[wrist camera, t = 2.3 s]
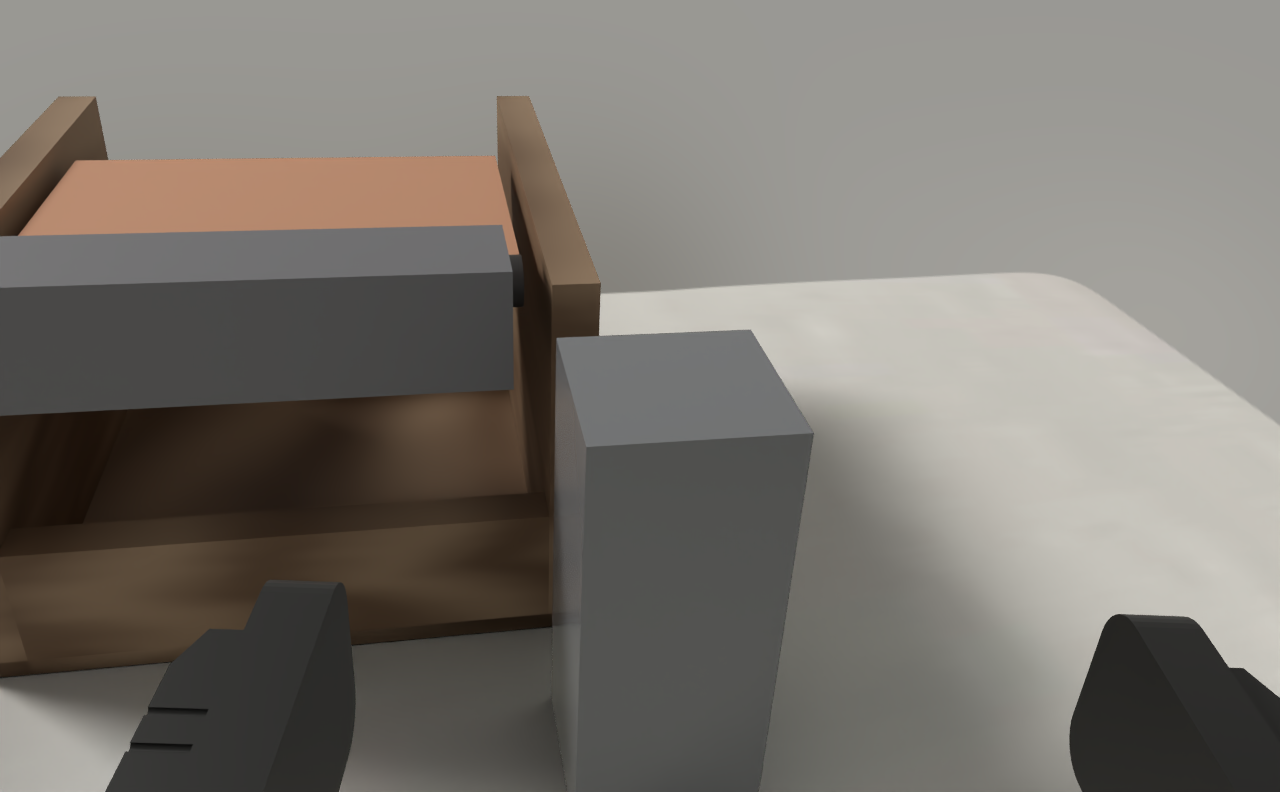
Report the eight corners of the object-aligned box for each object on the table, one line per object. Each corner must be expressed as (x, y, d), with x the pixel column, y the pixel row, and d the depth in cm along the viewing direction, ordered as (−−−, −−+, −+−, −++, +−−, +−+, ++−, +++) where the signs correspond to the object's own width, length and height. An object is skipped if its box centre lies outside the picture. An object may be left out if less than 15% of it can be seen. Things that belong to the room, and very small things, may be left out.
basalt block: (710, 679, 31) (750, 330, 25) (755, 811, 27) (813, 432, 21) (551, 696, 30) (556, 338, 24) (573, 834, 26) (586, 447, 21)
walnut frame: (529, 354, 47) (528, 96, 41) (588, 623, 33) (600, 283, 27) (117, 372, 44) (58, 96, 38) (-17, 679, 29) (-143, 308, 24)
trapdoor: (496, 215, 38) (494, 123, 36) (533, 388, 28) (533, 271, 26) (89, 223, 35) (68, 125, 34) (-34, 417, 25) (-73, 290, 24)
